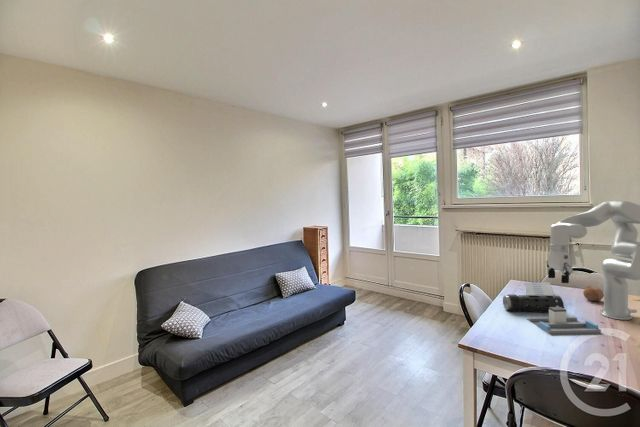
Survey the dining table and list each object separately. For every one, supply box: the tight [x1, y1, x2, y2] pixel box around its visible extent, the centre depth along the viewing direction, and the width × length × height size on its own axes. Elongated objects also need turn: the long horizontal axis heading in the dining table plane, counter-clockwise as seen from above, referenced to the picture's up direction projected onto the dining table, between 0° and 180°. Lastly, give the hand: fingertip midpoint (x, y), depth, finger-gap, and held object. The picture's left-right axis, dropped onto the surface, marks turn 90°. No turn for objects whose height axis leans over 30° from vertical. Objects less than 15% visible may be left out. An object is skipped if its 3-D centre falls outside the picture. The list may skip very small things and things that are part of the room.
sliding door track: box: [526, 316, 605, 337], centre depth 154 cm, size 24×20×4 cm
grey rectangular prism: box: [548, 306, 567, 323], centre depth 158 cm, size 6×4×8 cm, turn 87°
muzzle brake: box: [502, 294, 565, 313], centre depth 175 cm, size 10×28×10 cm, turn 78°
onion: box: [582, 285, 604, 303], centre depth 189 cm, size 10×9×10 cm
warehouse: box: [523, 281, 556, 296], centre depth 198 cm, size 30×14×8 cm, turn 148°
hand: (558, 280), depth 158 cm, fingers open, 9 cm apart
